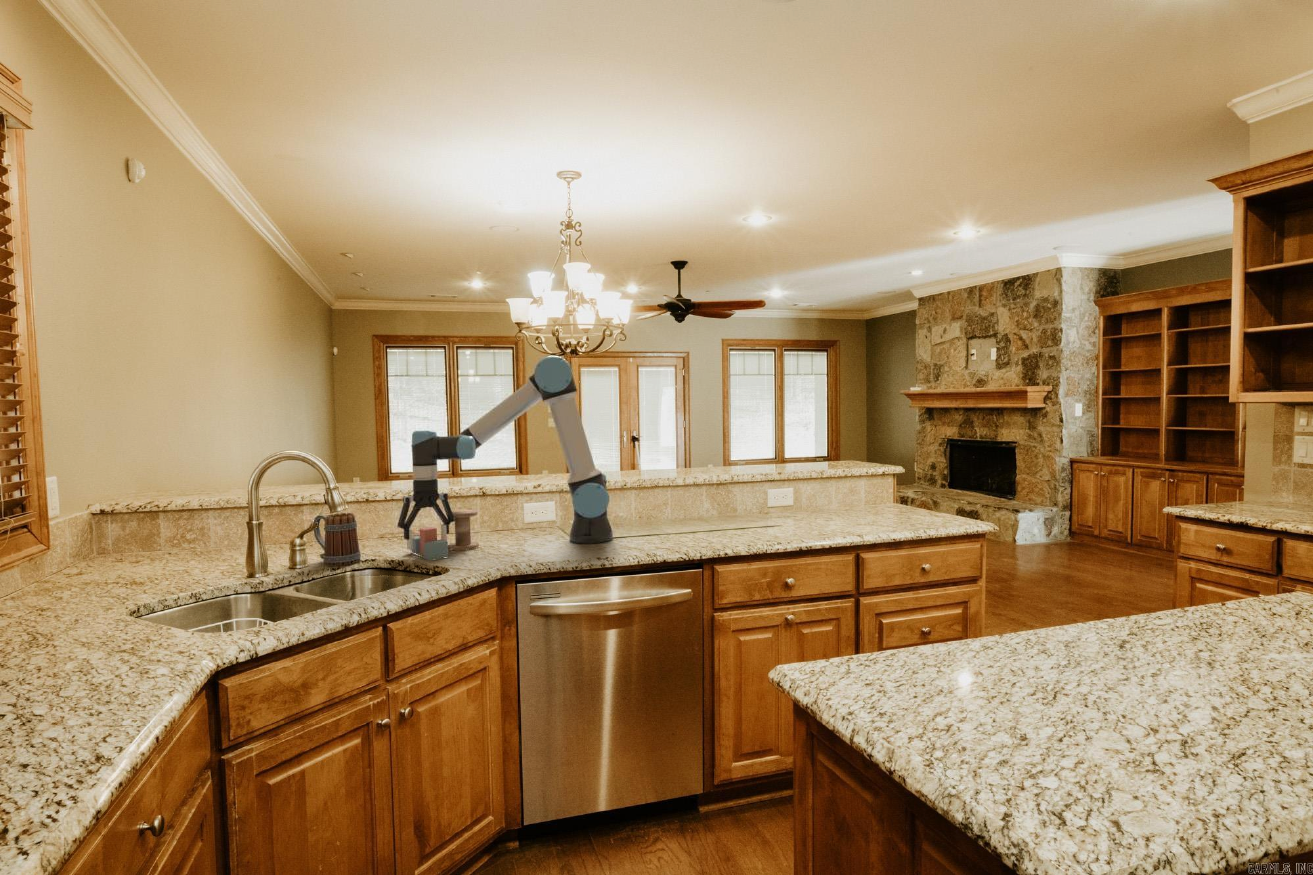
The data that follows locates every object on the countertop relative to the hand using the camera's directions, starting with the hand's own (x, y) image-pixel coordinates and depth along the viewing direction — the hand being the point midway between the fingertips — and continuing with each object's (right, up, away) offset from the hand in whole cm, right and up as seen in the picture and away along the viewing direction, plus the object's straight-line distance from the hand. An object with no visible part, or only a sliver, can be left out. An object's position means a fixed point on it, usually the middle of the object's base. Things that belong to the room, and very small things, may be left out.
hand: (427, 546), depth 218 cm
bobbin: (+8, -2, +11) cm, 14 cm away
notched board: (0, -3, +1) cm, 3 cm away
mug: (-26, -4, -6) cm, 27 cm away
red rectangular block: (0, -2, +1) cm, 2 cm away
